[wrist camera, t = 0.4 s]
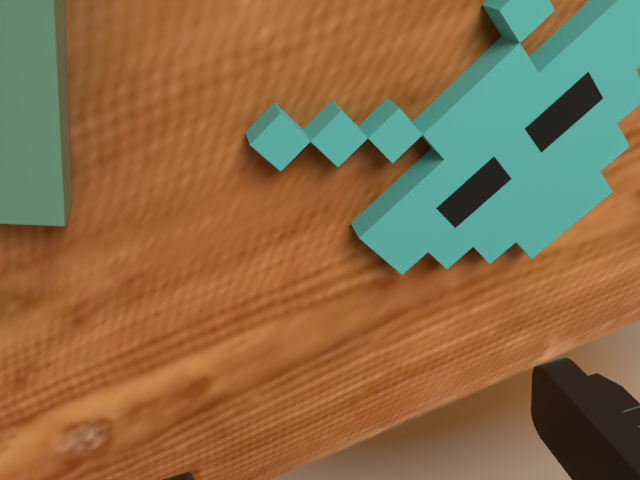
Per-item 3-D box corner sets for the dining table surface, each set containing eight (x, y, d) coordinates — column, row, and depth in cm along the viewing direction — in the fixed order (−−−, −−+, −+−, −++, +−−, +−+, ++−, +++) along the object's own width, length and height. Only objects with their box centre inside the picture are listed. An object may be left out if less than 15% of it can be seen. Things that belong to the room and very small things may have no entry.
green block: (-79, -85, 20) (-112, -83, 18) (63, -57, 22) (50, -52, 19) (-37, 191, 26) (-57, 221, 24) (73, 198, 28) (64, 226, 25)
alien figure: (244, 129, 28) (442, 301, 39) (249, 145, 26) (456, 321, 37) (542, -184, 24) (673, 107, 34) (573, -192, 22) (701, 118, 33)
